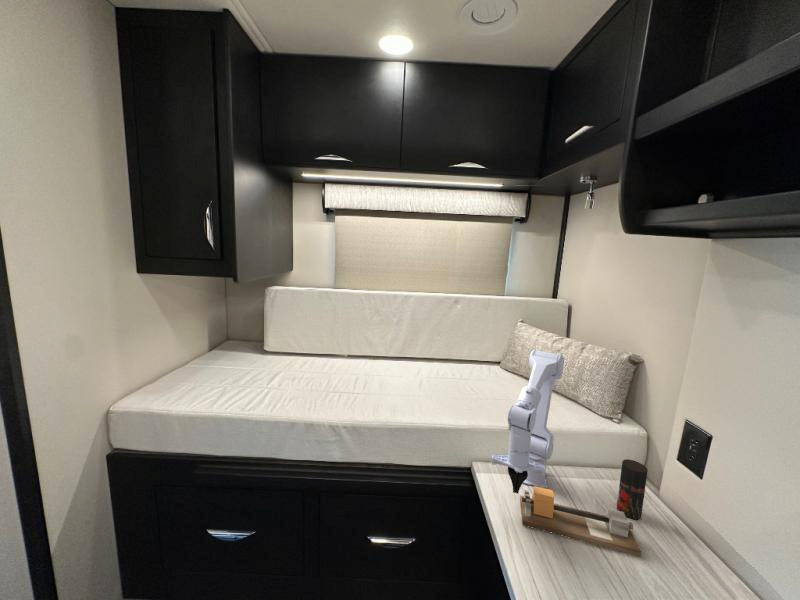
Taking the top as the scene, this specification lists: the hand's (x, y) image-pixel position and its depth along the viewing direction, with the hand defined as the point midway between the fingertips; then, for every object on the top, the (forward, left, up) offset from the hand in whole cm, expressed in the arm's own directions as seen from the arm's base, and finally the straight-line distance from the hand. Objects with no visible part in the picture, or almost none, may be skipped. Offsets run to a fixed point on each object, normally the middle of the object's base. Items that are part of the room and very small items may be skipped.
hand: (515, 490), depth 90 cm
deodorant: (-11, +33, -7) cm, 35 cm away
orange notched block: (0, +7, -4) cm, 9 cm away
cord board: (0, +16, -6) cm, 17 cm away
